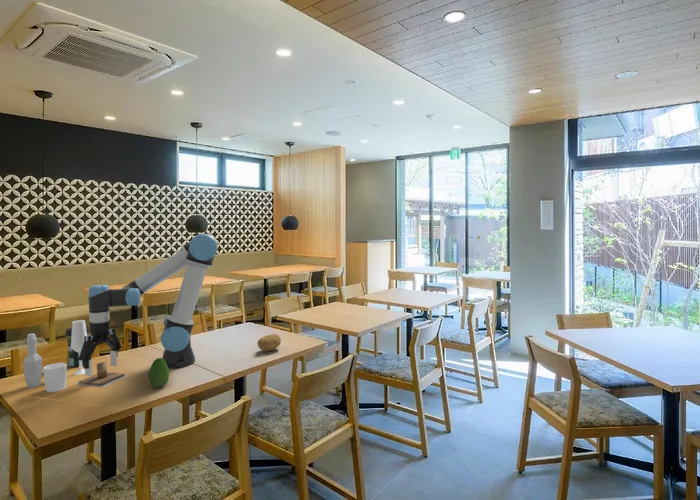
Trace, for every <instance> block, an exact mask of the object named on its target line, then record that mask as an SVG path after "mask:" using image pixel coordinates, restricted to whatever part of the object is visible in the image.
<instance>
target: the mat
mask: <svg viewBox="0 0 700 500" xmlns="http://www.w3.org/2000/svg"><path fill="white" fill-rule="evenodd" d="M126 377H128V375H126V374H125V376H124V377H121V378H119V379H117V380H115V381H112V382H110V383H108V384H106V385H103V386H97V385H88V384H79V382H77V383H76V385H79V386H87V387H95V388H96V387H97V388H104V387H105V386H106V387H107V386H108V385H111V384H113V383H116V382H117V381H119V380H121V379H124V378H126Z"/></svg>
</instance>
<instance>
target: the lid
mask: <svg viewBox="0 0 700 500" xmlns="http://www.w3.org/2000/svg"><path fill="white" fill-rule="evenodd" d="M107 365H108V364H107V362H99V363H96V370H97V371H96V373H95V374H92V376H87V377H86V378H83V379H81V380H78V383H79V384H88V385H97V386H103V385H106V384H108V383H110V382H112V381H115V380H117V379H119V378H121V377H124V376H125V375H126V374H125V373H120V372H119V373H118V372H110V371H108V370H107V369H108V367H107ZM124 378H125V377H124ZM119 380H120V379H119ZM117 381H118V380H117ZM115 382H116V381H115ZM108 385H109V384H108ZM106 386H107V385H106Z"/></svg>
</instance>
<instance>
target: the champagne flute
mask: <svg viewBox="0 0 700 500" xmlns="http://www.w3.org/2000/svg"><path fill="white" fill-rule="evenodd" d="M86 326H87V325H86V320H85V319H79V320H73V321H72V322H71V328H72V336H71V348H72V349H73V350H74V351H76V352H78V353H79V356H80V353H81V350H82V347H83V344H84V337H85V336H87V331H86ZM78 368H79V369H78V370H77V371H75V372H74V373H73V375H76V376H79V375H85V369H84V368H83V365H82V361H81V360H79V366H78Z"/></svg>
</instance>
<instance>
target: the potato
mask: <svg viewBox="0 0 700 500" xmlns="http://www.w3.org/2000/svg"><path fill="white" fill-rule="evenodd" d="M281 343H282V340H281V337H280V335H278V334H277V333H273V334H268V335H264V336H262V337H261V338H259V339H258V341H257V346H258V348H259V349H260V350H261V351H263V352H271V351H274V350H275V349H277V348H279V347H280V346H281Z"/></svg>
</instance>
